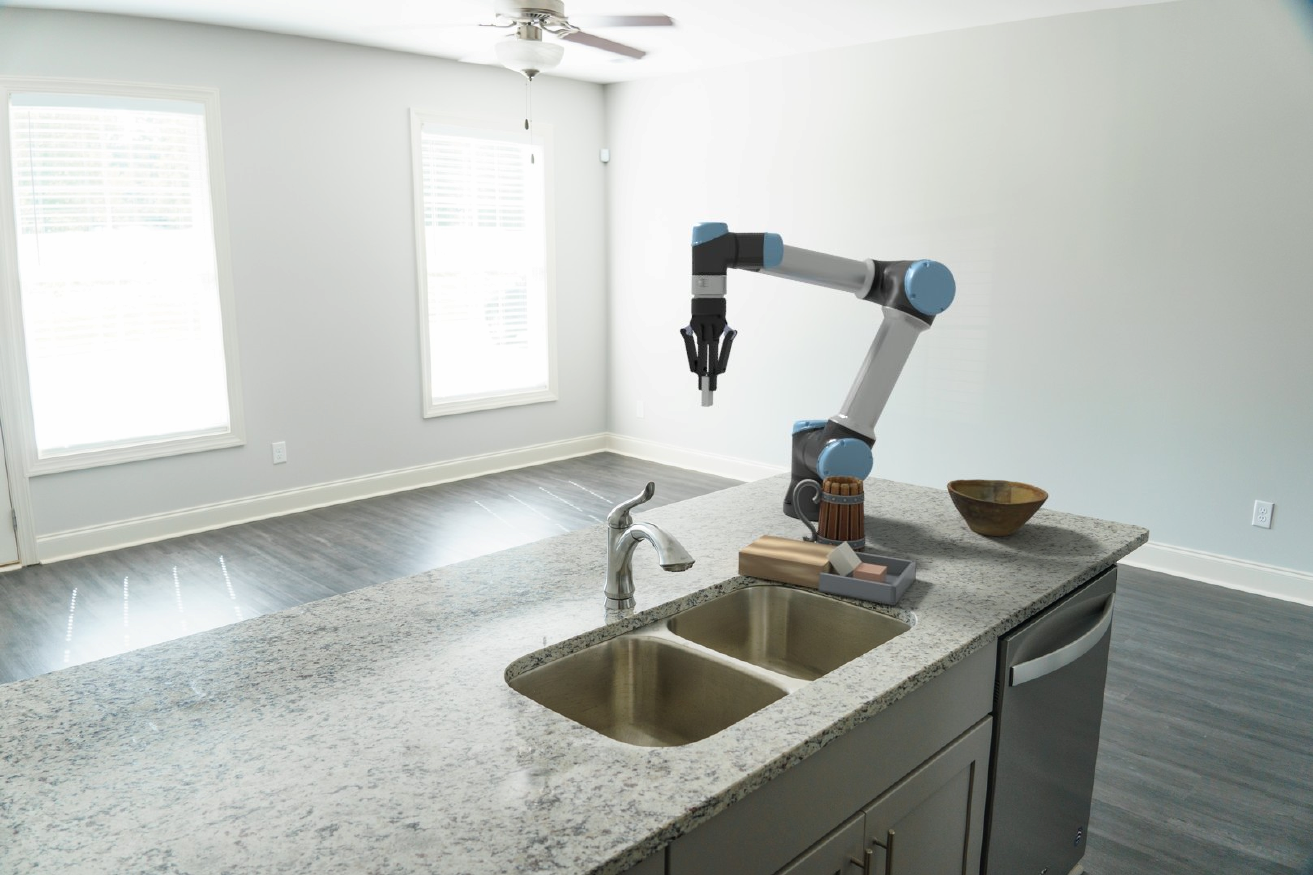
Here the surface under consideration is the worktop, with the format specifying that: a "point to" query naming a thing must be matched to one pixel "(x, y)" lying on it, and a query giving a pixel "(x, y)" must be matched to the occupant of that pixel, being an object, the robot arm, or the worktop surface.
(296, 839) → the worktop surface
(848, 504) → the mug
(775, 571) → the oak board
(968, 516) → the bowl
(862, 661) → the worktop surface
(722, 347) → the robot arm
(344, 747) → the worktop surface
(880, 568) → the tile terracotta
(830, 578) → the tray
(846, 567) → the tile cream
